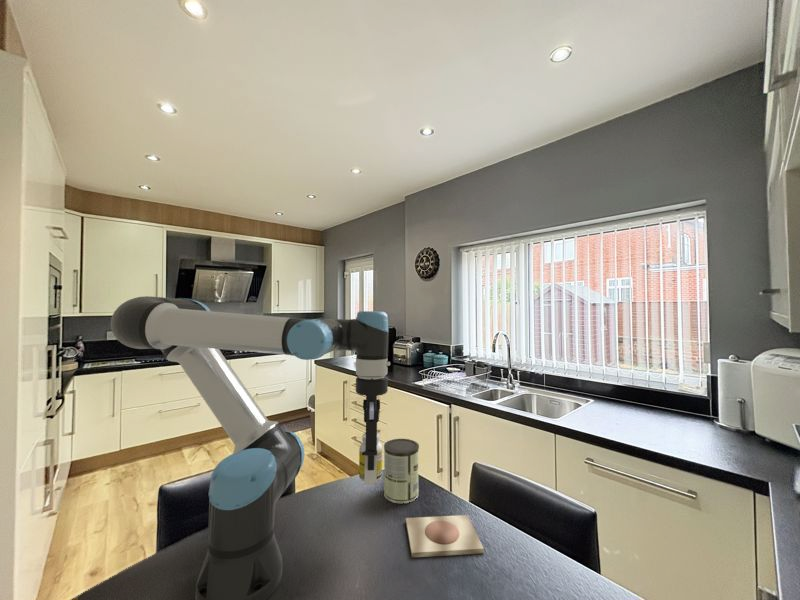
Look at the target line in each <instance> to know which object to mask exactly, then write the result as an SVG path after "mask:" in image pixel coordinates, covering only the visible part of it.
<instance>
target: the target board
mask: <svg viewBox="0 0 800 600" xmlns="http://www.w3.org/2000/svg"><path fill="white" fill-rule="evenodd" d="M405 524H406V531H407V537H408V543H409V549H410V555H411V558H424V557H425V558H427V557H429V558H430V557H444V556H459V555H460V556H462V555H475V554H476V555H477V554H484V553H485V551H484V550H485V549H484V546H483V544H482V542H481V540H480V537H479V536H478V533H477V531H476V529H475V527H474V525H473V523H472V521H471V519H470V517H469V515H468V514H462V515H460V514H459V515H443V516H423V517H422V516H419V517H406V518H405Z"/></svg>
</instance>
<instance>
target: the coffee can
mask: <svg viewBox="0 0 800 600" xmlns="http://www.w3.org/2000/svg"><path fill="white" fill-rule="evenodd" d="M419 448H420V445H419V443H418V442H417V441H416V440H412V439H410V438H409V439H408V438H394V439H391V440H387V441H386V442H385V443H384V445H383V450H384V451H383V453H384V454H383V455H384V456H383V457H384V458H383V460H384V461H383V462H384V463H383V465H384V466H383V467H384V469H383V470H384V474H383V475H384V477H383V482H384V484H383V487H384V488H383V495H384V498H385V499H386V500H387V501H389V502H390V503H393V504H400V505H402V504H403V503H404V504H409V502H410V503H413V502H414V501H416V500H417V499H418V498H419V494H420V493H419ZM416 498H417V499H416ZM415 499H416V500H415Z"/></svg>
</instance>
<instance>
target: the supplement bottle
mask: <svg viewBox="0 0 800 600" xmlns="http://www.w3.org/2000/svg"><path fill="white" fill-rule="evenodd" d="M361 438H362V441H361V442H362V443H361V444H360V445H359V448H358V449H359V451H358V452H359V453H358V455H359V457H358V458H359V459H358V460H359V462H358V463H359V464H358V469H359V470H358V475H359V479H360V481H362V482H364V478H365V455H362V452H365V451H366V432H365V433H363V434H362V437H361ZM382 476H383V445H382V444H381V442H380V433H378V432H377V482H379V481H380V480H381V479H382V478H383V477H382Z"/></svg>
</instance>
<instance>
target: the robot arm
mask: <svg viewBox="0 0 800 600" xmlns="http://www.w3.org/2000/svg"><path fill="white" fill-rule="evenodd" d="M388 317H389V316H388V314H387V313H386V312H385V311H380V310H379V311H377V310H376V311H373V310H371V311H365V310H364V311H361V310H360V311H358V312H357V315H356V317H355V318H353V319H352V318H351V319H346V318H345V319H342V318H341V319H340V318H324V317H323V318H313V319H312V318H297V317H285V316H271V315H260V314H248V313H246V314H245V313H236V312H224V311H223V312H222V311H214V310H213V311H212V310H210V308H209V307H208V306H207V305H206V304H204V303H202V302H200V301H198V300H194V299H191V298H183V297H178V298H171V297H160V296H149V295H147V296H139V297H137V296H136V297H133V298H131V299H128V300H127V301H124V302H123V303H121V304H120V305H119V306H117V308H116V309H115V310H114V311H113V314H112V316H111V319H110V329H111V333H112V334H113V337H115V339H116V340H117V341H118V342H120V343H121V344H122V345H124V346H126V347H129V348H132V349H138V350H146V349H147V350H148V349H152V350H154V349H155V350H160V351H161V352H162V354H163V356H164V357H165V358H166V360H167V361H169V362H174V363H178V364H179V365H180V367H181V368H182V369H183V371H184V372H185V374H186V375H187V377H188V378H189V380H190V381H191V383H192V384H193V386H194V387H195V389H196V390H197V392H198V393H199V394H200V396H201V397H202V399H203V400H204V402H205V404H206V405H207V406H208V408H209V409H210V411H211V412H212V414H213V415H214V416H215V418H216V419H217V421H218V422H219V424H220V426H221V427H222V428H223V430H224V431H225V433H226V434H227V436H228V438H230V440H231V442H232V443H233V444H234V449H233V452H232V453H231V454H230V455H228V456H226V457H225V458H223V459H222V460H221V461H220V462H219V463H218V464H216V466H215V467H214V469H213V471H212V473H211V475H210V484H209V489H208V498H209V501H208V504H209V505H208V531H207V532H208V533H207V534H208V538H207V541H208V543H207V552H206V555H205V557H204V558H205V559H204V560H203V563H202V566H201V569H200V572H199V574H198V577H197V580H196V585H195V593H194V594H195V597H194V599H195V600H268V599H269V598H270V597H271V596H272V595H273V594H274V592H275V591H276V590H277V588H278V587H279V585H280V583H281V580H282V577H283V555H282V553H281V550H280V548H279V544H278V541H277V539H276V535H275V514H276V513H275V511H276V510H275V509H276V508H275V507H276V504H277V502H278V500H279V499H280V498H281V496H282V495H283V494H284V493H285V492H286V490H287V488H288V487H289V486H290V484H291V483H292V482H293V481H294V480H295V479H296V478H297V476H298V475H299V473H300V471H301V468H302V467H303V464H304V461H305V447H304V444H303V442H302V439H301V438H300V437H299V436H298V435H297V434H296V433H295V432H292V431H290V430H287V429H286V430H285V429H284V428H283V427H282V426H281V424H280V423H279V422H278V421H276V420H275V421H274V420H269V419H268V418H267V416H266V415H265V413H264V412H263V410H262V409H261V408H260V406H259V405H258V403H257V402H256V400H255V399H254V398H253V396H252V394H251V393H250V392H249V390H248V389H247V388H246V386H245V384H243V381H242V380H241V379H240V377H239V376H238V374H237V373H236V372H235V370H234V369H233V367H232V366H231V364H230V363H229V361H228V360H227V358H226V357H225V356H224V355H223V353H222V351H221V350H223V351H237V352H238V351H239V352H250V353H253V352H254V353H261V354H262V353H264V354H273V355H275V354H277V355H286V356H293V357H296V358H297V359H300V360H304V361H308V360H317V359H320V358H322V357H323V356H324V355H327V354H328V353H331V352H333V351H338V352H339V351H350V352H353V351H355V352H356V358H355V375H357V377H356V378H355V393H356V394H357V395H359V396H366V397H365V399H363V400H362V401H363V402H362V409H363V422H364V423H365V433H366V451H365V452H362V455H365V478H364V481H363V483H364V485H372V484H377V483H378V481H377V433H378V422H380V409H381V402H380V401H381V400H380V399H378V398H377V396H383V395H385V394H387V393H388V382H389V381H388V379H389V378H388V376H387V375H388V372H389V371H388V369H389V368H388V367H389V366H391V362H390V361H388V358H389V357H388V356H389V332H390V331H389V319H388Z"/></svg>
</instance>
